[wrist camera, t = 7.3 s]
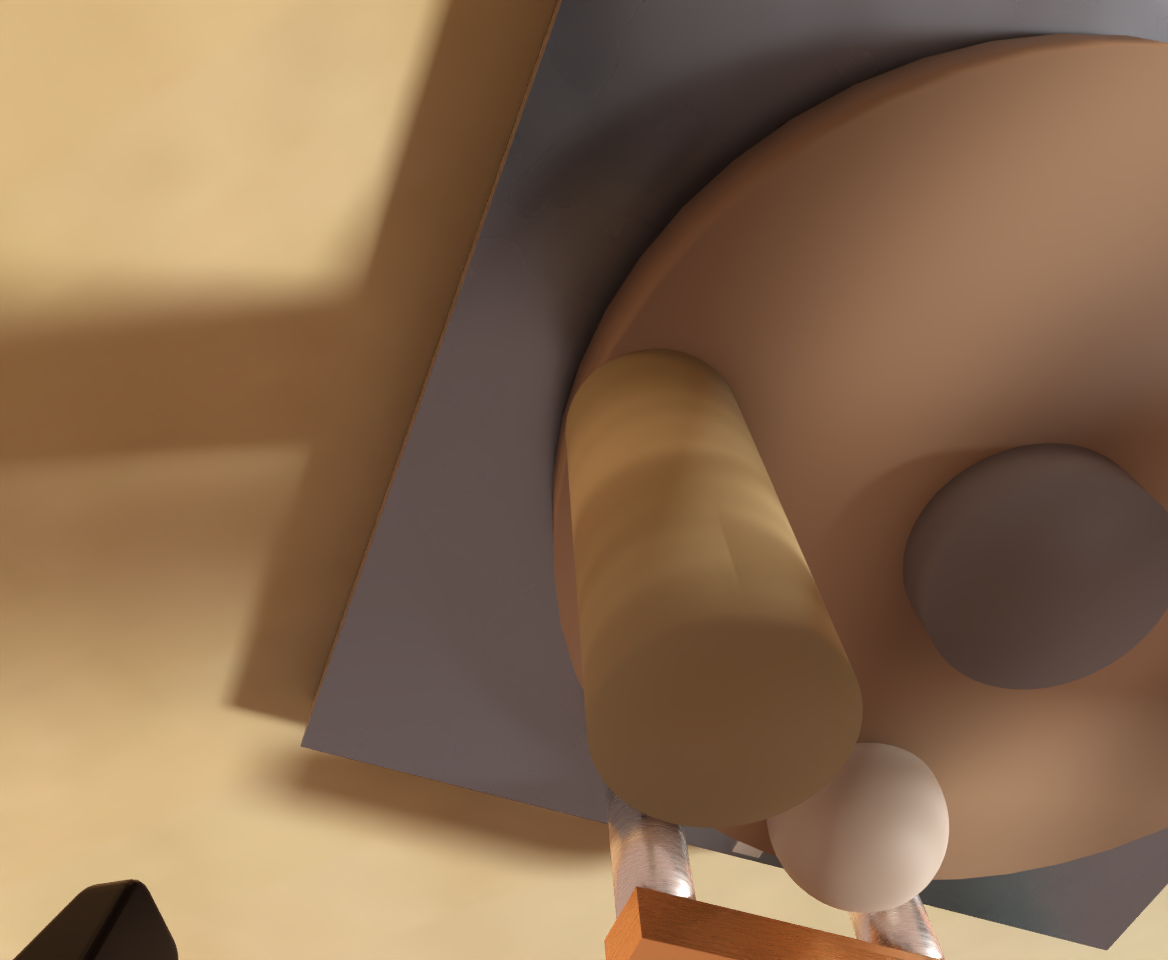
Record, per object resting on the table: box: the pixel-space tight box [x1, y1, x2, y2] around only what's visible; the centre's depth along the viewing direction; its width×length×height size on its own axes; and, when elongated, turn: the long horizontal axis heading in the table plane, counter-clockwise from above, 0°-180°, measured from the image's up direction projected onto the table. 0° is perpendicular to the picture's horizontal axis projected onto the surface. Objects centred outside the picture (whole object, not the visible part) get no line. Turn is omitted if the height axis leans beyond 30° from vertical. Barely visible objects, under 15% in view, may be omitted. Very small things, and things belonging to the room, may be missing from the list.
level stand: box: [301, 0, 1168, 960], centre depth 16 cm, size 18×18×5 cm
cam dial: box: [552, 33, 1168, 913], centre depth 14 cm, size 14×14×8 cm
